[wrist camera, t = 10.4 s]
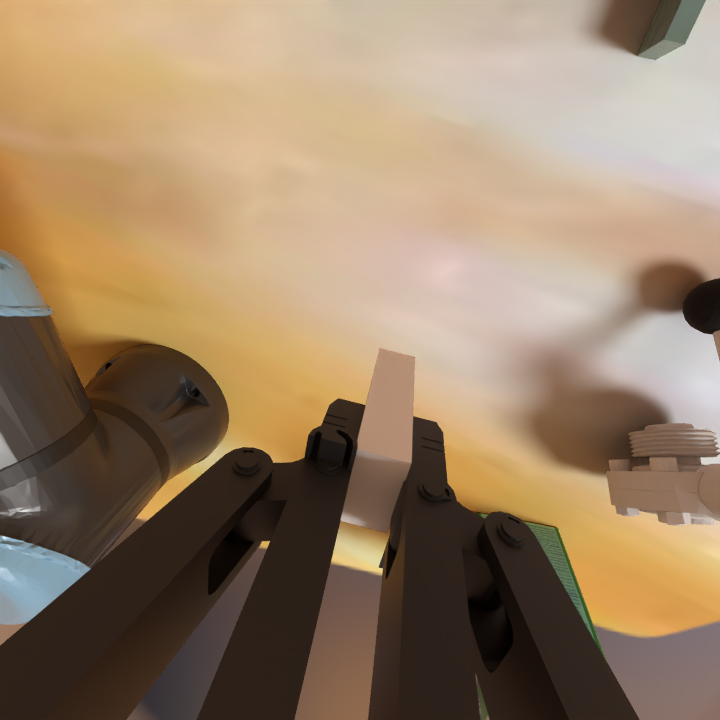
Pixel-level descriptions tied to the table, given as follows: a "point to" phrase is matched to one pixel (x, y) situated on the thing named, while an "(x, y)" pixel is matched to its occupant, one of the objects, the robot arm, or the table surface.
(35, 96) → the table surface
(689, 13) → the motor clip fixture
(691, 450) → the valve
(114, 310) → the table surface
